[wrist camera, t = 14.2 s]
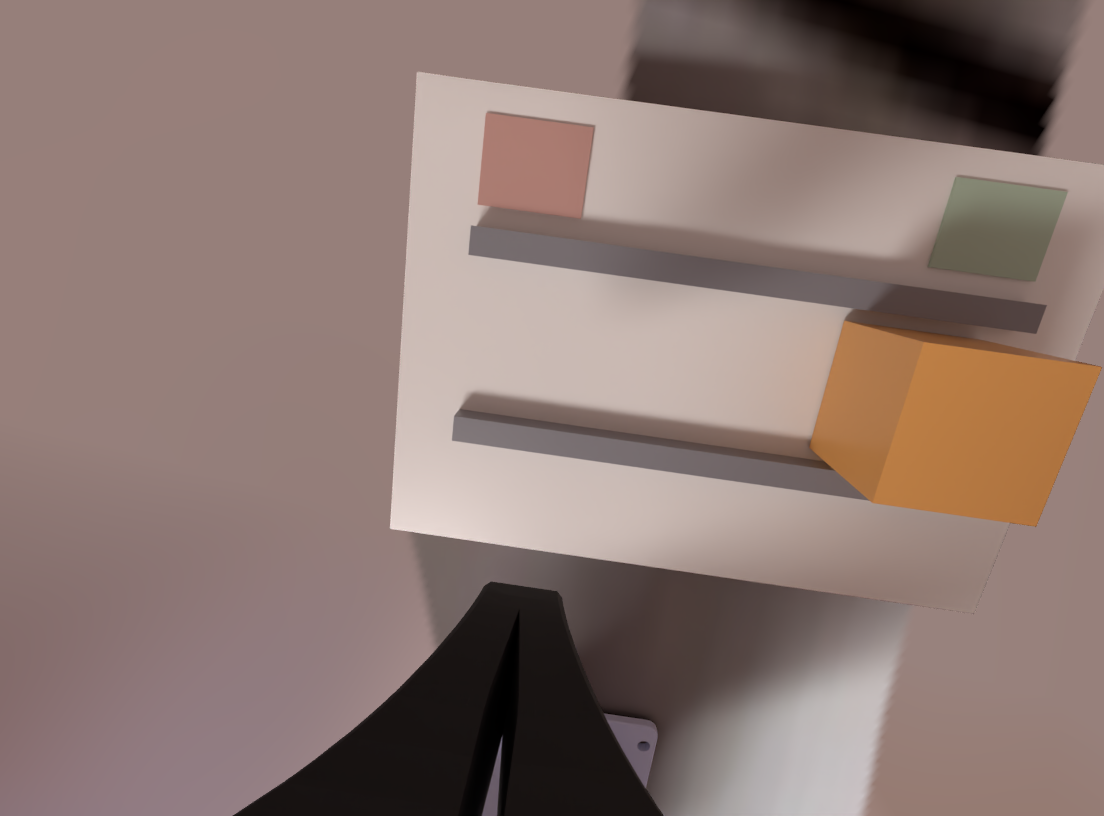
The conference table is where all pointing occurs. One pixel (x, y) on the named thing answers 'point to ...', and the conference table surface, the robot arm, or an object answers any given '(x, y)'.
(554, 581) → the conference table surface
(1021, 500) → the orange cube
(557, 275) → the plate
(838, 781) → the conference table surface
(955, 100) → the conference table surface
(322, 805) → the robot arm
